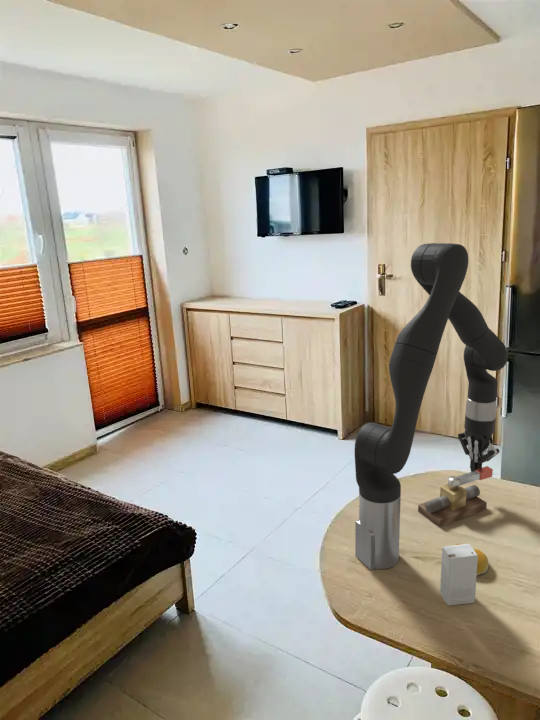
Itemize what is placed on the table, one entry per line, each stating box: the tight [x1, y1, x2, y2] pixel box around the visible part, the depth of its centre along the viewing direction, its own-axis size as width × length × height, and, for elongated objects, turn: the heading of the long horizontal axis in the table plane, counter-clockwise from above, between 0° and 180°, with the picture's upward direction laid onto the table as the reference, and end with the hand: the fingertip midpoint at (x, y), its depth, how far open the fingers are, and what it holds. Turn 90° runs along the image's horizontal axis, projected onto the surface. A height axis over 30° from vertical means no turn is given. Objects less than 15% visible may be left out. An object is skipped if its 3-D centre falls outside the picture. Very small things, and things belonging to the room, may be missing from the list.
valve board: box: [417, 483, 488, 528], centre depth 147 cm, size 16×8×7 cm, turn 116°
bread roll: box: [455, 543, 489, 576], centre depth 128 cm, size 8×9×4 cm
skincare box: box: [439, 543, 478, 607], centre depth 116 cm, size 6×4×12 cm
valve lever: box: [447, 465, 494, 489], centre depth 148 cm, size 13×3×2 cm, turn 113°
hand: (475, 472), depth 152 cm, fingers closed
